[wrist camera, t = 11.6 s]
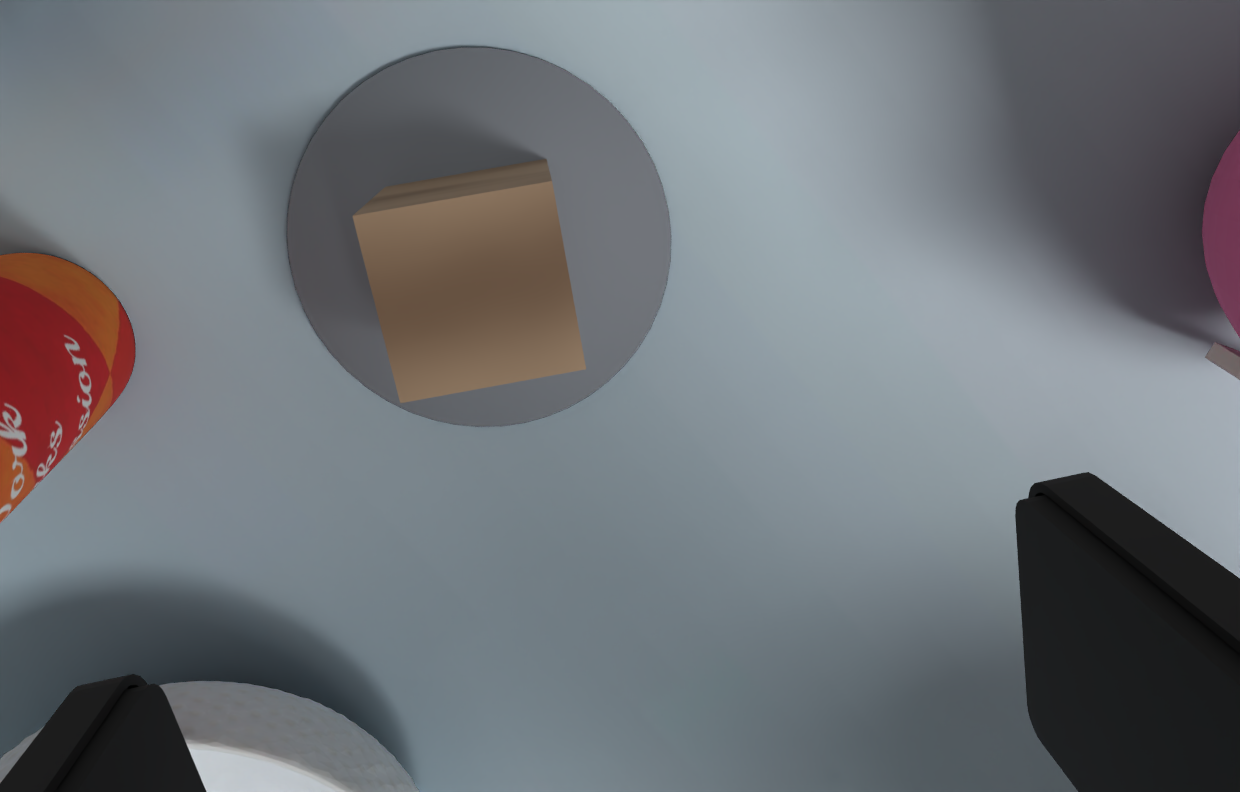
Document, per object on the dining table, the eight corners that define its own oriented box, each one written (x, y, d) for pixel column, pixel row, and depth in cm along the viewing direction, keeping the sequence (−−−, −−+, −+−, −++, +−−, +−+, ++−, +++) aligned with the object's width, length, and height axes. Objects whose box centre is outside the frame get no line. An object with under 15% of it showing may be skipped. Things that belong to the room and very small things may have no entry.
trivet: (697, 384, 32) (698, 386, 32) (350, 457, 32) (349, 459, 32) (634, 11, 28) (634, 11, 28) (235, 90, 28) (234, 90, 28)
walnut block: (574, 314, 31) (586, 369, 25) (422, 341, 31) (400, 403, 25) (546, 158, 29) (552, 181, 24) (385, 186, 29) (352, 216, 23)
